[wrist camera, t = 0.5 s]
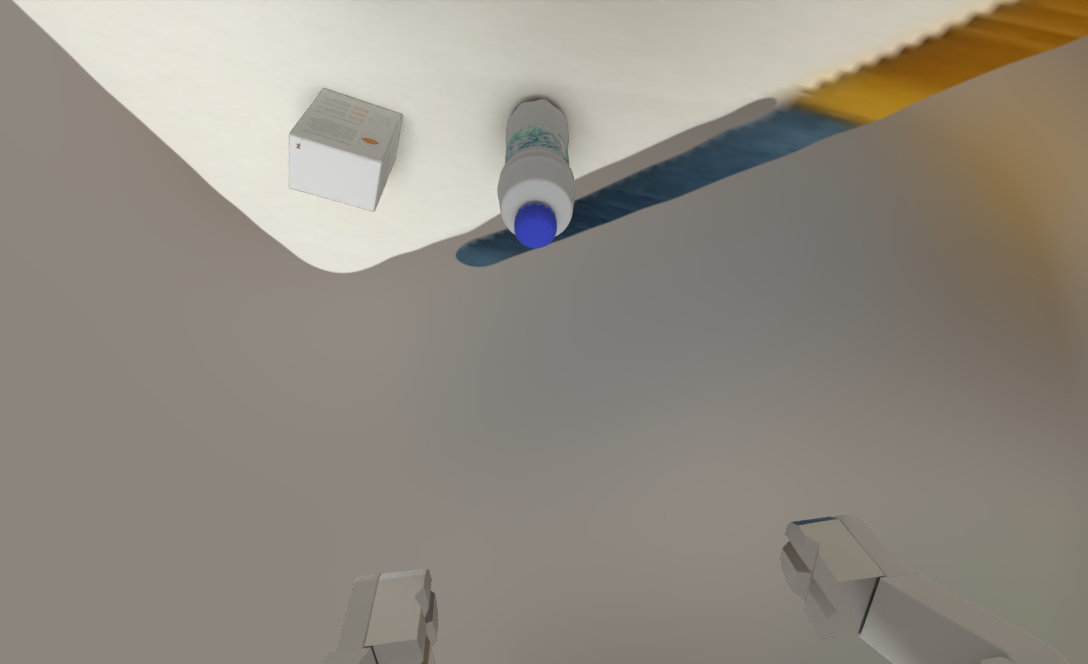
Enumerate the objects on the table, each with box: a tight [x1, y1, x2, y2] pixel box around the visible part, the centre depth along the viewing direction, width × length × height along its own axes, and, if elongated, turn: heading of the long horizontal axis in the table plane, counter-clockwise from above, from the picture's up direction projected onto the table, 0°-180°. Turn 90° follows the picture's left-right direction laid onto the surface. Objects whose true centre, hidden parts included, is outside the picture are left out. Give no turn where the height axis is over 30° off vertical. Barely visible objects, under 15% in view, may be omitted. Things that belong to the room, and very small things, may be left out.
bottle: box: [498, 99, 576, 248], centre depth 46 cm, size 7×7×20 cm
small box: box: [289, 89, 402, 212], centre depth 50 cm, size 8×6×10 cm
